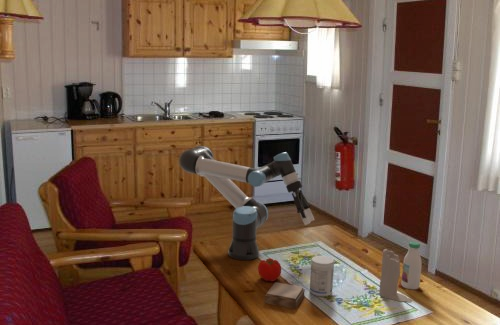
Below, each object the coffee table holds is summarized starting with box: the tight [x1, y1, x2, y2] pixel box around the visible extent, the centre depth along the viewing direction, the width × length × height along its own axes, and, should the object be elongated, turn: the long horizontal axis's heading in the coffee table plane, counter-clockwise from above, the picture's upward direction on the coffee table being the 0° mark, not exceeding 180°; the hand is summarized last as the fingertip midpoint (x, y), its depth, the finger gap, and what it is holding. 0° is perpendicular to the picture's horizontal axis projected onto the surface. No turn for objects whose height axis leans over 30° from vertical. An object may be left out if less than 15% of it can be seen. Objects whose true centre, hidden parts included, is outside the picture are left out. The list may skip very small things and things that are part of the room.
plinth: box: [264, 281, 306, 310], centre depth 219 cm, size 13×13×4 cm
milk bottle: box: [400, 241, 423, 290], centre depth 235 cm, size 8×8×20 cm
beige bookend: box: [378, 248, 413, 303], centre depth 224 cm, size 7×14×20 cm, turn 58°
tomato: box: [257, 258, 282, 282], centre depth 238 cm, size 11×11×9 cm
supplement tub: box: [309, 255, 335, 297], centre depth 226 cm, size 10×10×15 cm
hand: (310, 222), depth 263 cm, fingers open, 13 cm apart
